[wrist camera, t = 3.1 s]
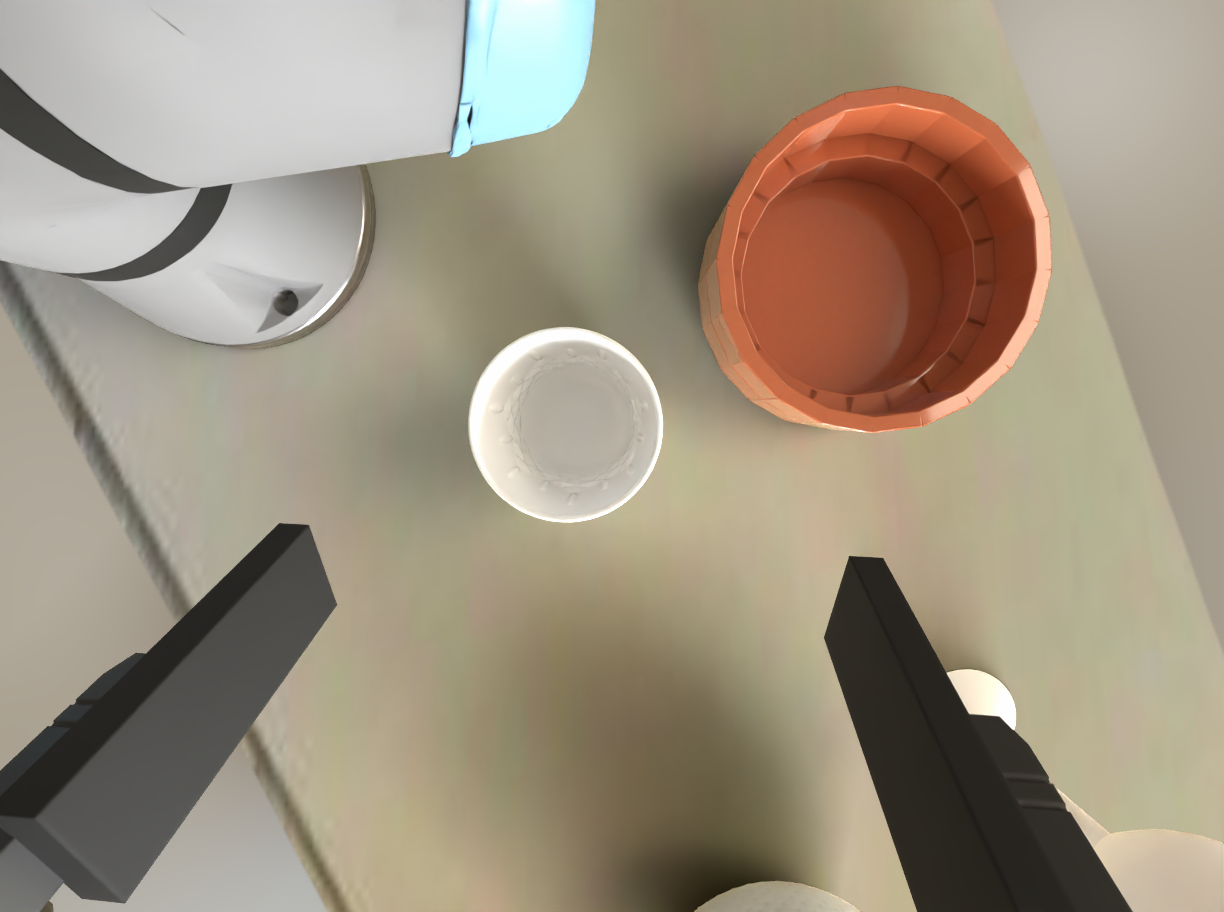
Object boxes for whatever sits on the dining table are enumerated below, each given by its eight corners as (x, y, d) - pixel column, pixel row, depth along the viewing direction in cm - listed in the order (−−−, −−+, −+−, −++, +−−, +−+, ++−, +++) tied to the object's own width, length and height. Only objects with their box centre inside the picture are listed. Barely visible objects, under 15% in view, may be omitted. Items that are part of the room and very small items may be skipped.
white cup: (515, 487, 31) (471, 524, 21) (511, 354, 31) (463, 328, 21) (646, 484, 31) (663, 520, 21) (645, 351, 31) (661, 325, 21)
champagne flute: (1031, 683, 33) (2184, 1441, 9) (996, 781, 33) (1989, 1744, 9) (928, 657, 32) (1818, 1357, 9) (895, 756, 33) (1641, 1669, 9)
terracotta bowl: (673, 400, 31) (687, 398, 25) (727, 127, 30) (756, 55, 24) (928, 448, 31) (1003, 458, 25) (994, 181, 30) (1090, 124, 24)
